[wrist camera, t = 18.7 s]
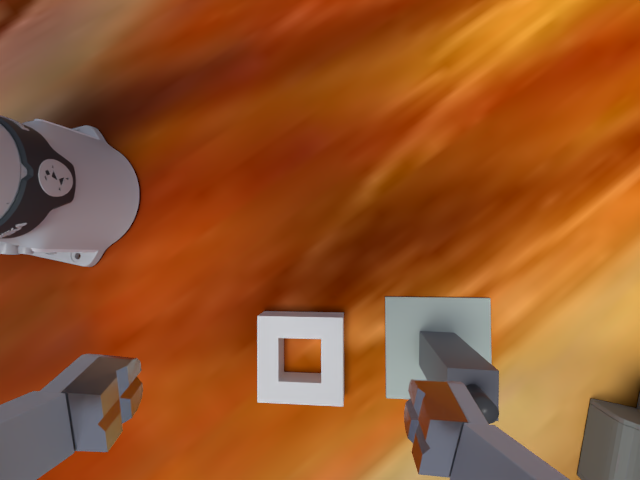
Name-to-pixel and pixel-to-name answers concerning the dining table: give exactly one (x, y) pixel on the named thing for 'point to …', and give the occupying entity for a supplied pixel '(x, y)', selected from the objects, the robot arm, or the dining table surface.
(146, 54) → the dining table surface
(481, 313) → the mat
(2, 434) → the robot arm
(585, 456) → the digital clock
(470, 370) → the plug
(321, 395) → the socket block
